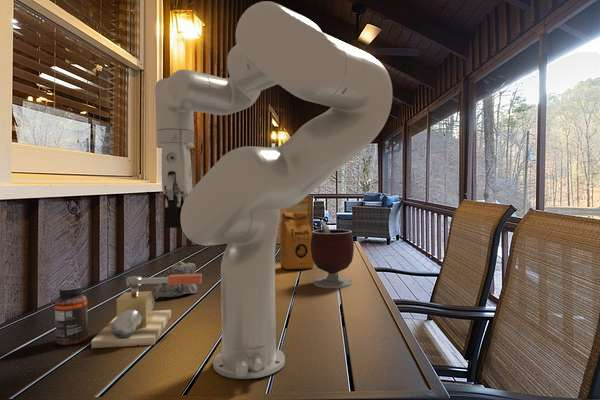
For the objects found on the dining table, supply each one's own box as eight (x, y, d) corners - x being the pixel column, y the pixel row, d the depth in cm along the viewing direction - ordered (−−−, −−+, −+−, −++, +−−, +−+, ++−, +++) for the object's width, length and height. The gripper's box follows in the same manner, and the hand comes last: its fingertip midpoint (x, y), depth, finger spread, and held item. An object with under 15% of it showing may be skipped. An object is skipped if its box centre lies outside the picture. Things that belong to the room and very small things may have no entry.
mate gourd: (362, 286, 131) (361, 222, 131) (322, 290, 126) (321, 224, 126) (339, 276, 146) (339, 219, 145) (302, 280, 141) (302, 221, 140)
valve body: (138, 338, 84) (137, 296, 83) (107, 339, 83) (106, 297, 83) (158, 310, 102) (157, 276, 102) (133, 311, 102) (132, 277, 101)
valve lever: (124, 287, 91) (124, 279, 91) (129, 283, 94) (128, 276, 94) (200, 284, 93) (200, 276, 93) (202, 280, 96) (201, 273, 96)
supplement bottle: (81, 333, 91) (79, 282, 91) (93, 339, 87) (92, 286, 87) (51, 341, 86) (49, 287, 86) (63, 348, 83) (61, 292, 82)
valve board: (154, 344, 84) (154, 337, 84) (91, 348, 83) (91, 340, 83) (171, 316, 103) (171, 309, 103) (120, 318, 101) (120, 312, 101)
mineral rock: (152, 302, 116) (151, 266, 116) (153, 293, 126) (153, 260, 126) (200, 298, 120) (199, 263, 120) (197, 289, 130) (196, 257, 130)
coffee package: (316, 269, 159) (316, 212, 158) (285, 272, 155) (284, 213, 154) (308, 265, 168) (307, 210, 168) (278, 267, 164) (277, 211, 164)
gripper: (188, 135, 78) (190, 229, 79) (198, 144, 96) (200, 222, 96) (146, 135, 77) (148, 230, 78) (164, 144, 95) (166, 223, 95)
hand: (177, 225), depth 87 cm, fingers open, 7 cm apart
